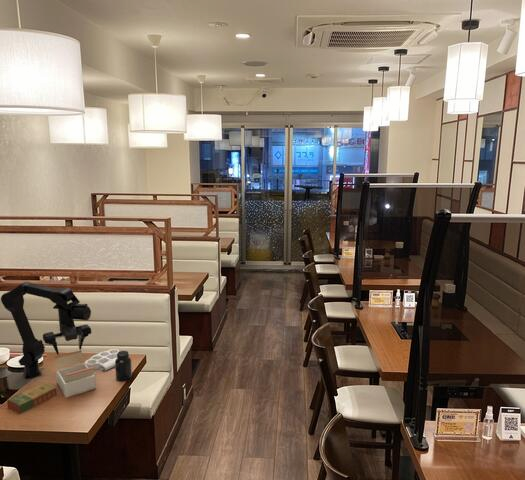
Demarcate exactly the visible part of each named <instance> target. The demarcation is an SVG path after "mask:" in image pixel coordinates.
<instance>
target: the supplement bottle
mask: <svg viewBox="0 0 525 480" xmlns="http://www.w3.org/2000/svg"><path fill="white" fill-rule="evenodd" d="M114 368H115V379H116V381H118V382H127V381H130V379H131V378H132V377H133V374H132V373H133V371H132V359H131V357H130V355H129V352H128V350H121V351H120V350H119V352H118V353H117V359H116V360H115V366H114Z"/></svg>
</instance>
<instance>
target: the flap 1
mask: <svg viewBox="0 0 525 480" xmlns="http://www.w3.org/2000/svg"><path fill="white" fill-rule="evenodd" d="M83 357H84V355H83V352H82V349H81V350H80V349H79V350H77V351H73V352H68V353H64V354H60V355H57V356H54V360H55V364H56V369H57V370H59V369H63V368H67V367H69V366H70V367H71V366H75V365H79V364H80V363H81V364H82V363H85V360H84V358H83Z"/></svg>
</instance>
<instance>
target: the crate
mask: <svg viewBox="0 0 525 480" xmlns="http://www.w3.org/2000/svg"><path fill="white" fill-rule="evenodd" d="M87 368H88V367H87V365H86V364H85V362H83V363H81V364H80V363H79V364H75V365H71V366H70V367H69V366H67V367H64V368H60V369H57V370H55V372H56V373H55V375H56V384H57V386H58V387H59V389H60V390H61V392H62V394H63V396H64V397H65V398H69V397H73V396H76V395H79V394H83V393H86V392H90V391H93V389H94V390H96V376H95V373H94V374H93V375H91V376H87V377H84V378H80V379H76V380H73V381H69V382H66V374H68V373H72V372H76V371H79V370H83V369H87Z"/></svg>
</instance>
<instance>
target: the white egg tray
mask: <svg viewBox="0 0 525 480" xmlns="http://www.w3.org/2000/svg"><path fill="white" fill-rule="evenodd" d="M118 352H120V350H119V349H117V348H110V349H108V350H106V351H101V352H98V353H97V354H94V355H92V356H91V357H90V358H89V359H87V360H84V363H85V364H86V365H87V367H88V368H90V367H95V369H94V371H95V370H100V371H101V372H102V371H103V370H104V371H103V372H106V371H108V370H110V369H112V368H113V367H114V368H115V360H116V359H117V353H118Z"/></svg>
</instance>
